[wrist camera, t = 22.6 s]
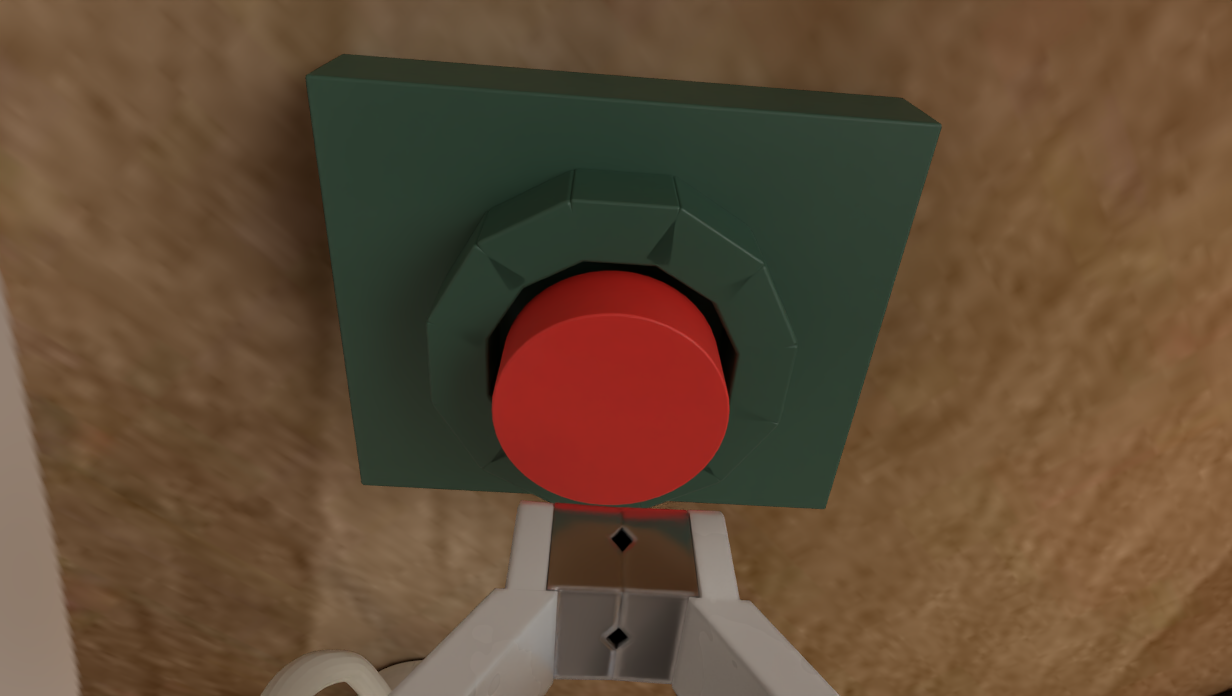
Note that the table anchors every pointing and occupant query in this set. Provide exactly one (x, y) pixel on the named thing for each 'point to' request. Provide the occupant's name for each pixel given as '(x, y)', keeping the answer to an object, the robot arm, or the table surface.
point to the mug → (336, 674)
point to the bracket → (1227, 694)
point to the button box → (608, 250)
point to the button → (610, 389)
